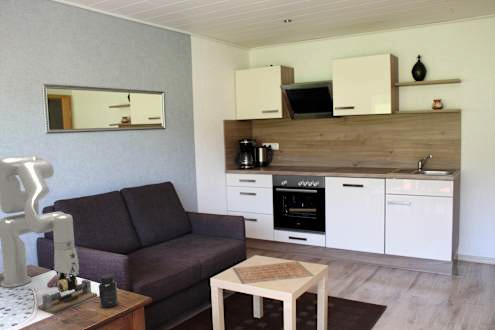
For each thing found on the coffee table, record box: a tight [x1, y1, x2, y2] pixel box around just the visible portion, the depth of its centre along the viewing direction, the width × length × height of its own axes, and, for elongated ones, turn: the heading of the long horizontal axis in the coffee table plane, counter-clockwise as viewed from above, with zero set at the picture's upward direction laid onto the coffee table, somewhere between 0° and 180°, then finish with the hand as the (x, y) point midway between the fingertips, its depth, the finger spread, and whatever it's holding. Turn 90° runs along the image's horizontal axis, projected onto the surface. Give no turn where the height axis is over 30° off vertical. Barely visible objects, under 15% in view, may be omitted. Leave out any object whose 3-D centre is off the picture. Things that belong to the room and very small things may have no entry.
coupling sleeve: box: [56, 276, 78, 293], centre depth 179 cm, size 6×5×5 cm
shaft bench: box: [37, 279, 98, 316], centre depth 179 cm, size 11×20×6 cm, turn 148°
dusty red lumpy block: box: [46, 273, 68, 287], centre depth 202 cm, size 10×5×7 cm, turn 170°
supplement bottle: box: [98, 273, 119, 309], centre depth 175 cm, size 7×7×12 cm
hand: (67, 288), depth 179 cm, fingers closed on coupling sleeve, 5 cm apart
